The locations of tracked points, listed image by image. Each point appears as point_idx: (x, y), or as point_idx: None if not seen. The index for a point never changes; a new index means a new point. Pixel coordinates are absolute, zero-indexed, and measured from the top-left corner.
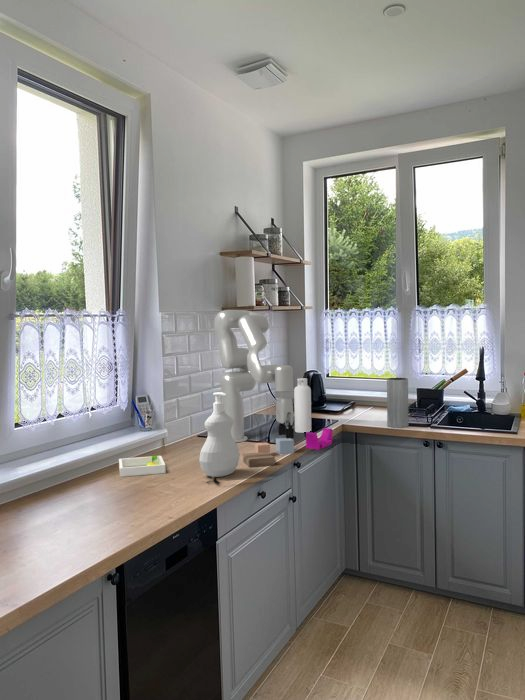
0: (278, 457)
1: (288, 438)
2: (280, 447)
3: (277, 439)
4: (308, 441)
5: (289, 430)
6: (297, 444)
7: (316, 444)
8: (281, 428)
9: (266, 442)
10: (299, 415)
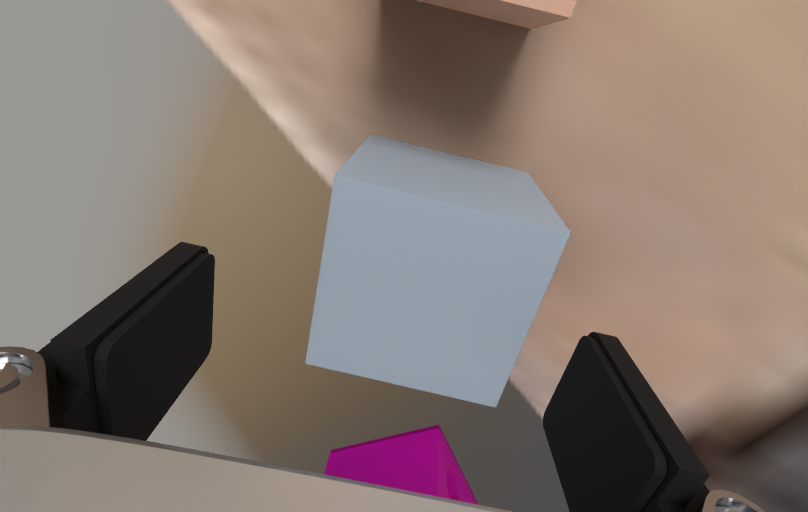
0: (294, 63)
1: (450, 372)
2: (353, 157)
3: (488, 217)
4: None
5: (50, 366)
6: None
7: None
8: (609, 451)
9: (563, 12)
10: None
